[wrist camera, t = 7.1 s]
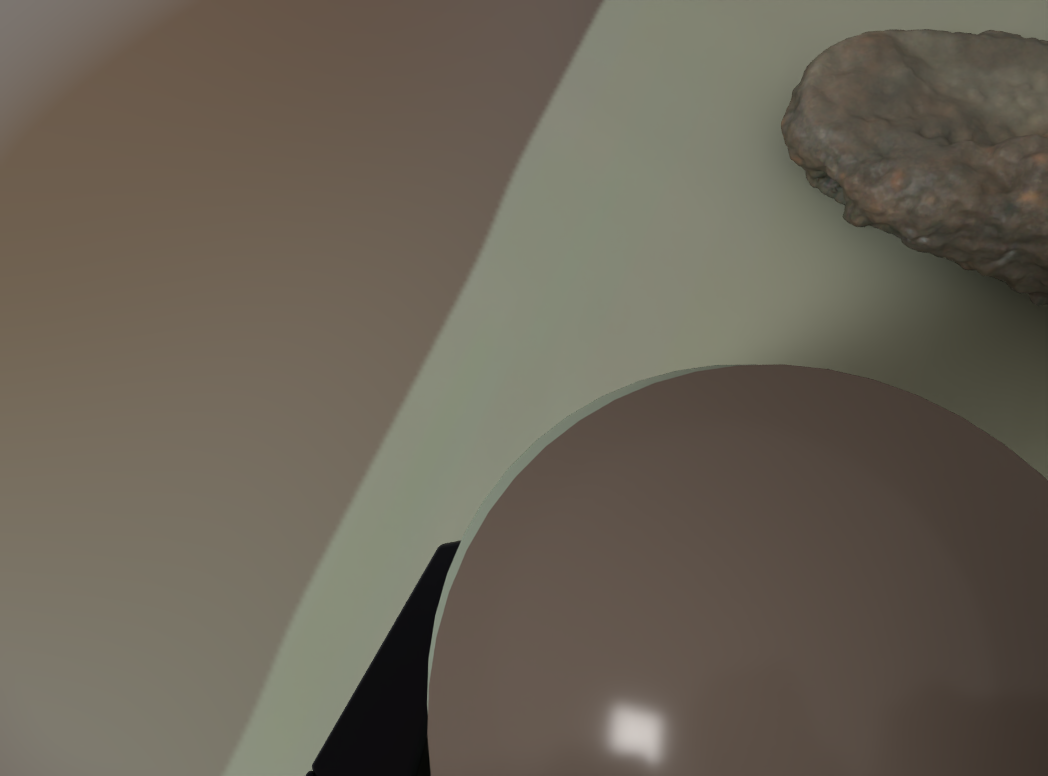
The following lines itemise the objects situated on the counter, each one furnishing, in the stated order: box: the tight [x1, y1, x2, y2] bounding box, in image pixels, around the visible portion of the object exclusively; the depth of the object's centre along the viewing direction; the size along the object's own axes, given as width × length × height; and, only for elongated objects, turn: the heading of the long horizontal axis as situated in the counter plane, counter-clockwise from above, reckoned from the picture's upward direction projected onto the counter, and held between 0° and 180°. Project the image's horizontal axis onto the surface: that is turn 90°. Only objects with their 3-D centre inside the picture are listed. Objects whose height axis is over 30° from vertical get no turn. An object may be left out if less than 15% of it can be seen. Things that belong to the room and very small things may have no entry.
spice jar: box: [427, 365, 1048, 776], centre depth 10 cm, size 6×6×11 cm
